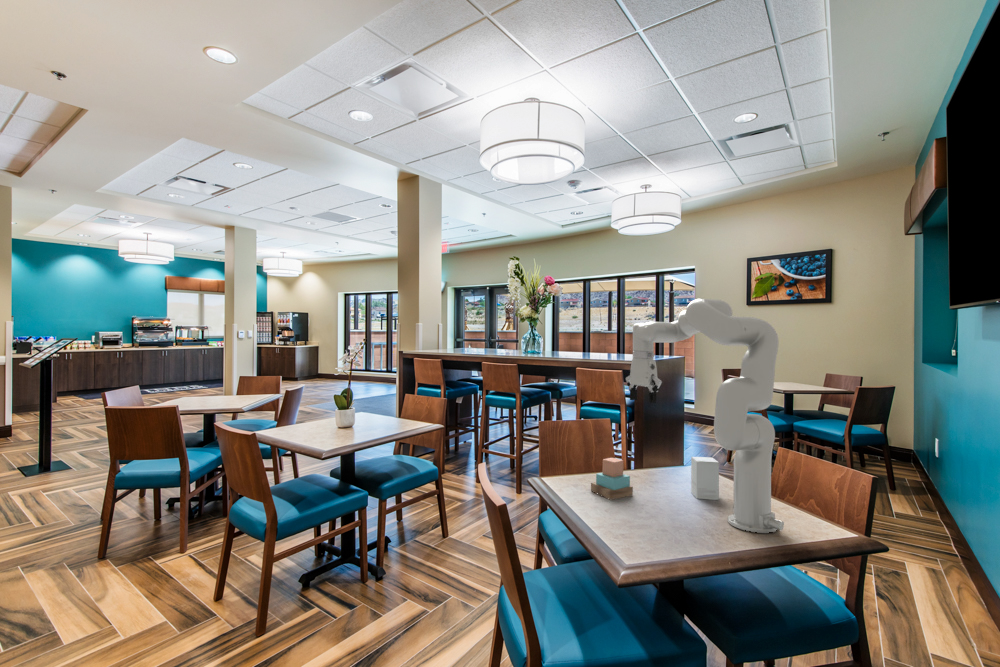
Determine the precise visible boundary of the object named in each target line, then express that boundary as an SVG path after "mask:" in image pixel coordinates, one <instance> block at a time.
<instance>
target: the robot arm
mask: <svg viewBox="0 0 1000 667" xmlns="http://www.w3.org/2000/svg"><path fill="white" fill-rule="evenodd" d="M677 318H678V319H677V320H675V321H672V322H671V321H670V322H668V321H649V322H648V321H647V322H645V323H644V322H640V323H639V322H637V323H635V324H633V326H632V359H631V365H630V370H629V372H630V373H629V375H628V376H626V377H625V381H626V384H627V387H628V390H629V400H630V401H637V400H638V389H637V388H638V387H645V388H646V387H647V388H648V404H656V403H657V393H658V392H659V390H660V388H661V385H662V383H663V381H662V380H661V379H660V378H658V368H657V363H656V359H654V357H655V356H656V354H655V352H654V348H655V347H654V344H655V343H660V344H661V343H665V344H669V343H671V344H672V343H677V342H682V341H685V340H687V339H691V338H692V336H694V335H695V334H699V333H702V335H705V337H708V338H709V339H710V340H712V341H713V342H714V343H716V344H719V345H722V346H738V347H739V346H745V347H747V350H746V352H745V353H744V355H743V357H742V359H741V364H740V365H741V366H740V373H739V374H740V375H739V377H732V378H727V379H726V380H724V381H723V382H722V383H721V384H720V385H719V388H718V389H717V392H716V396H715V406H714V407H715V408H714V420H713V434H714V435H713V436H714V438H715V441H716V442H717V444H718V445H719V446H720V447H721V448H723V449H724V450H727V451H735V454H734V458H733V513H732V514H730V515H728V516H727V522H728V523H729V524H730V525H731V526H732V527H735V528H737V529H738V530H741V531H745V530H746V532H749V531H751V532H750V533H755V532H757V534H770V533H769V532H773V533H775V532H777V531H781V532H782V531H783V530H784V526H785V522H784V520H783V521H782V520H780V519H777V518H776V513H775V512H773V511H772V456H773V448H774V443H775V438H776V430H775V428H774V425H773V423H772V422H771V421H770V420H769V419H768V418H767V417H765V416H763V415H761V414H755V413H754V414H753V413H750V414H749V413H748V412H756V411H762V410H766V409H768V408H769V407H770V406H771V404H772V401H773V398H774V397H773V396H774V386H775V384H774V383H775V373H776V362H777V355H778V352H779V342H780V341H779V337H778V333H777V331H776V329H775V328H774V327H773V325H772V324H770V323H769V322H768V321H765V320H763V319H761V318H758V317H751V316H735V315H734V316H733V310H732V307H731V305H730V304H729V303H728V302H726V301H725V300H722V299H721V300H720V299H711V298H697V299H694V300H692V301H691V302H690V303H689V304H688V305H686V308H685V309H684V310H682V311H681V312H680V313H679V315H678V317H677ZM776 530H777V531H776Z"/></svg>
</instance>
